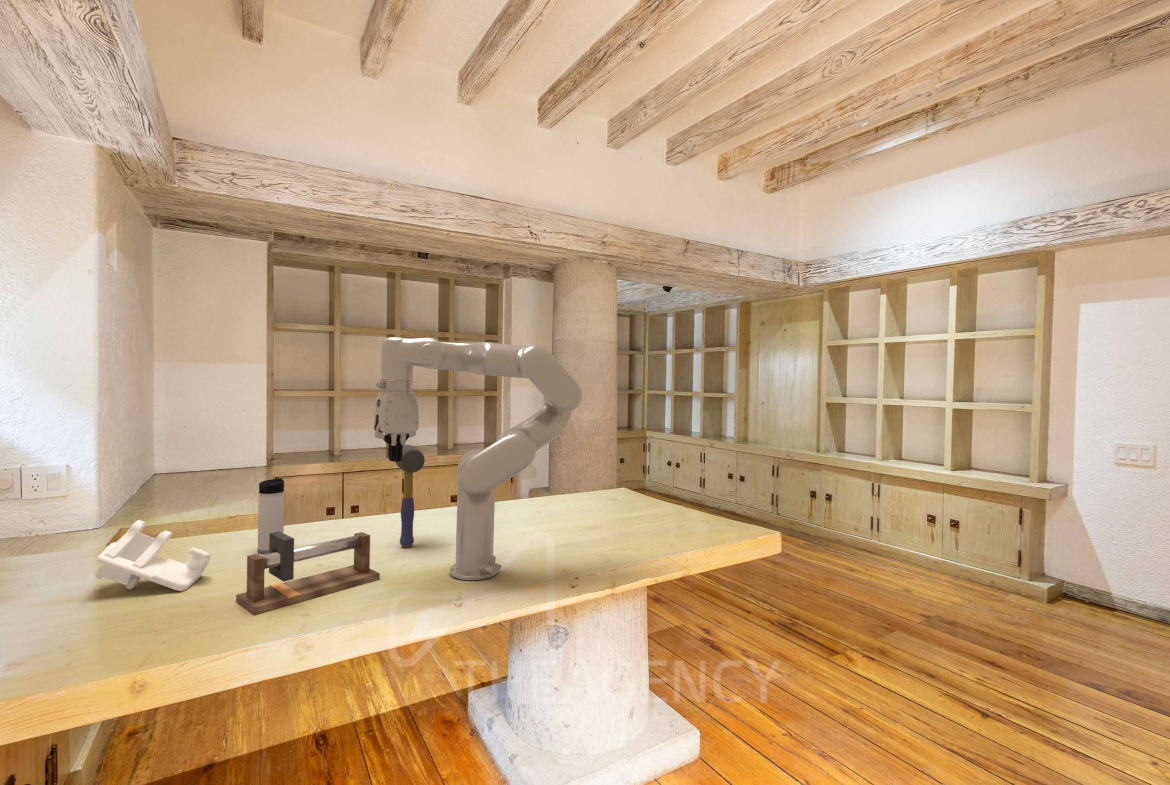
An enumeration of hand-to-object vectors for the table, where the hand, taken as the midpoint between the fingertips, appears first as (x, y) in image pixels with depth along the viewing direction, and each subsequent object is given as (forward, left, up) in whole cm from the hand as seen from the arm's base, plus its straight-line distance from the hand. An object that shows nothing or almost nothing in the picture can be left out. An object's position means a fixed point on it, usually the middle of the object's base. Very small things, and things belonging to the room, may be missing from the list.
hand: (395, 460), depth 134 cm
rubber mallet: (+19, -16, -29) cm, 38 cm away
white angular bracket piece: (+34, +40, -29) cm, 60 cm away
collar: (+6, +24, -24) cm, 34 cm away
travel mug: (+43, +12, -29) cm, 53 cm away
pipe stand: (+6, +17, -29) cm, 34 cm away
